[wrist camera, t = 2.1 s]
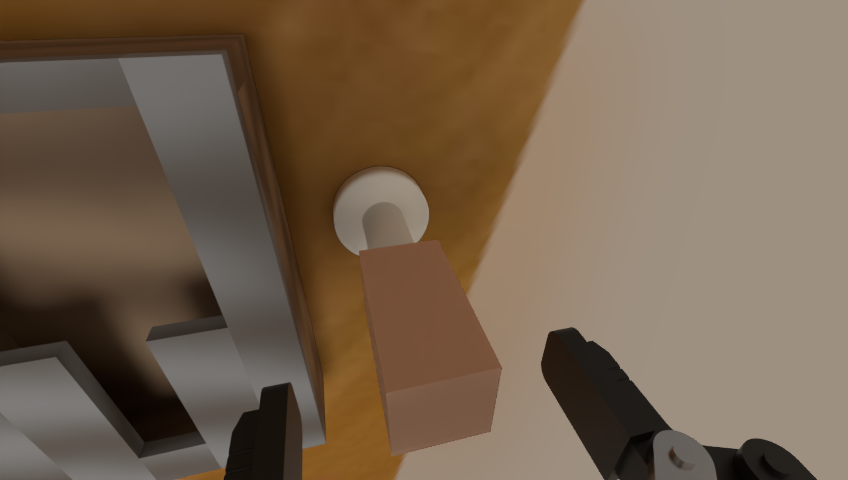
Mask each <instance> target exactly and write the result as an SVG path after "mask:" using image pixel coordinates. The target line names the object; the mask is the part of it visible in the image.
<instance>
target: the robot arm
mask: <svg viewBox="0 0 848 480" xmlns="http://www.w3.org/2000/svg"><path fill="white" fill-rule="evenodd" d="M541 368H542V373H543V376H544V378H545V381H546V382H547V384H548V386H549V388H550V389H551V391H552V393H553V394H554V396H555V397H556V399H557V401H558V403H559V404H560V406H561V408H562V409H563V411H564V413H565V414H566V416H567V418H568V420H569V421H570V423H571V425H572V426H573V428H574V430H575V431H576V433H577V434H578V436H579V438H580V440H581V441H582V443H583V445H584V446H585V448H586V450H587V451H588V453H589V455H590V456H591V458H592V460H593V461H594V463H595V465H596V467H597V468H598V470H599V472H600V473H601V475H602V476H603V478H604V480H617V479H620V480H817V479H816V478H815V477H814V476H813V475H812V474H811V473H810V472H809V471H808V470H807V469H806V468H805V467H804V466H803V465H802V463H800V461H799V460H797V459H796V458H795V457H794V456H793V455H792V454H791V453H790V452H788V451H786V450H785V449H784V448H782V447H780V446H779V445H777V444H775V443H773V442H770V441H767V440H763V439H750V440H747V441H746V442H745V443H744V444H743V445H742V446H741V448H740V449H731V448H721V447H711V446H703V445H701V444H700V443H698V442H697V441H696V440H695V439H693V438H691V437H690V436H688V435H686V434H684V433H681V432H678V431H673V430H672V429H671V428H670V427H669V426H668V425H667V424H666V422H665V421H664V420H663V419H662V417H661V416H660V415H659V414H658V413H657V411H656V410H655V409H654V408H653V406H652V405H651V404H650V403H649V402H648V400H647V399H646V398H645V397H644V395H643V394H642V393H641V392H640V391H639V389H638V388H637V387H636V386H635V384H634V383H633V382H632V381H630V380H629V377H628V376H627V374H626V373H625V372H624V371H623V370H622V369H620V367H619V365H618V363H617V362H616V361H615V360H614V358H613V357H612V356H611V355H610V353H609V352H607V351H606V350H605V349H603V348H602V347H600V346H599V345H598V344H596V343H595V342H593V341H589V342H586V340H585V339H584V338H583V337H582V335H581V334H580V333H579V331H578V330H576V329H575V328H572V327H571V328H566V329H561V330H556V331H551V332H550V333H549V334H548V338H547V341H546V345H545V350H544V353H543V357H542V361H541ZM302 440H303V432H302V420H301V414H300V410H299V407H298V403H297V400H296V397H295V393H294V390H293V387H292V384H291V382H288V383H283V384H278V385H273V386H268V387H263V388H262V391H261V396H260V405H259V409H257V410H253V411H248V412H243V414H242V416H241V417H240V419H239V421H238V423H237V424H236V426H235V428H234V430H233V431H232V435H231V441H230V447H229V453H228V454H229V457H228V458H227V464H226V470H225V471H226V475H225V476H224V480H302Z"/></svg>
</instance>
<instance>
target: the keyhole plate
mask: <svg viewBox="0 0 848 480" xmlns="http://www.w3.org/2000/svg"><path fill="white" fill-rule="evenodd" d="M288 382H291V384H292V387H293V390H294V393H295V397H296V400H297V403H298V407H299V410H300V414H301V420H302V432H303V440H302V449H304V448H309V447H313V446H317V445H321V444H325V443H326V428H325V405H324V382H323V373H322V368H321V364H320V360H319V355H318V351H317V347H316V343H315V338H314V334H313V330H312V325H311V321H310V317H309V313H308V308H307V304H306V300H305V295H304V291H303V287H302V283H301V278H300V274H299V270H298V265H297V261H296V257H295V252H294V248H293V244H292V240H291V235H290V231H289V227H288V222H287V218H286V214H285V210H284V205H283V201H282V197H281V192H280V188H279V184H278V180H277V175H276V171H275V167H274V162H273V158H272V154H271V150H270V145H269V141H268V137H267V132H266V128H265V124H264V120H263V115H262V111H261V107H260V102H259V98H258V94H257V90H256V85H255V81H254V77H253V72H252V68H251V64H250V60H249V55H248V51H247V47H246V42H245V38H244V34H222V35H186V36H151V37H115V38H80V39H44V40H8V41H0V480H174V479H178V478H183V477H187V476H191V475H195V474H199V473H204V472H208V471H212V470H216V469H220V468H225V467H226V464H227V458H228V457H229V454H228V453H229V447H230V441H231V435H232V431H233V430H234V428H235V426H236V424H237V423H238V421H239V419H240V417H241V416H242V414H243V412H248V411H253V410H257V409H259V405H260V396H261V391H262V388H263V387H268V386H273V385H278V384H283V383H288Z"/></svg>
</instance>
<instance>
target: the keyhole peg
mask: <svg viewBox="0 0 848 480" xmlns="http://www.w3.org/2000/svg"><path fill="white" fill-rule="evenodd" d="M333 217H334V226H335V231H336V234H337V236H338V238H339V240H340V241H341V243H342V244H343V245H344V246H345V247H346V248H347V249H348V250H349V251H351V252H352V253H354V254H356V255H358V256H359V258H360V267H361V275H362V284H363V292H364V301H365V309H366V315H367V321H368V326H369V332H370V338H371V343H372V349H373V354H374V360H375V366H376V371H377V377H378V382H379V388H380V394H381V399H382V405H383V410H384V416H385V422H386V427H387V433H388V438H389V444H390V450H391V455H392V456H396V455H400V454H404V453H408V452H412V451H416V450H419V449H424V448H428V447H432V446H436V445H440V444H443V443H447V442H451V441H455V440H459V439H463V438H467V437H471V436H475V435H479V434H483V433H487V432H490V431H491V425H492V420H493V415H494V409H495V403H496V398H497V391H498V386H499V381H500V375H501V370H502V367H501V365H500V363H499V361H498V359H497V357H496V355H495V353H494V351H493V349H492V347H491V345H490V343H489V341H488V339H487V337H486V335H485V333H484V331H483V329H482V327H481V325H480V323H479V321H478V319H477V317H476V315H475V313H474V311H473V309H472V307H471V305H470V303H469V301H468V299H467V297H466V295H465V293H464V291H463V289H462V287H461V285H460V283H459V281H458V279H457V277H456V275H455V273H454V271H453V269H452V267H451V265H450V263H449V261H448V259H447V257H446V255H445V253H444V251H443V249H442V247H441V245H440V243H439V241H438V240H431V241H423V242H418V241H419V240H420V239H421V237H422V236H423V234H424V232H425V230H426V228H427V225H428V221H429V208H428V204H427V201H426V199H425V197H424V195H423V193H422V192H421V190H420V188H419V186H418V184H417V183H416V182H415V180H414V179H413V178H412V177H411V176H409V175H408V174H407V173H405V172H403V171H401V170H399V169H396V168H392V167H387V166H375V167H369V168H366V169H363V170H361V171H358V172H356V173H355V174H353V175H352V176H350V177H349V178H348V179H347V180H346V181H345V182H344V183H343V184H342V185H341V186H340V188H339V189H338V191H337V193H336V195H335V198H334V202H333Z"/></svg>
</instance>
